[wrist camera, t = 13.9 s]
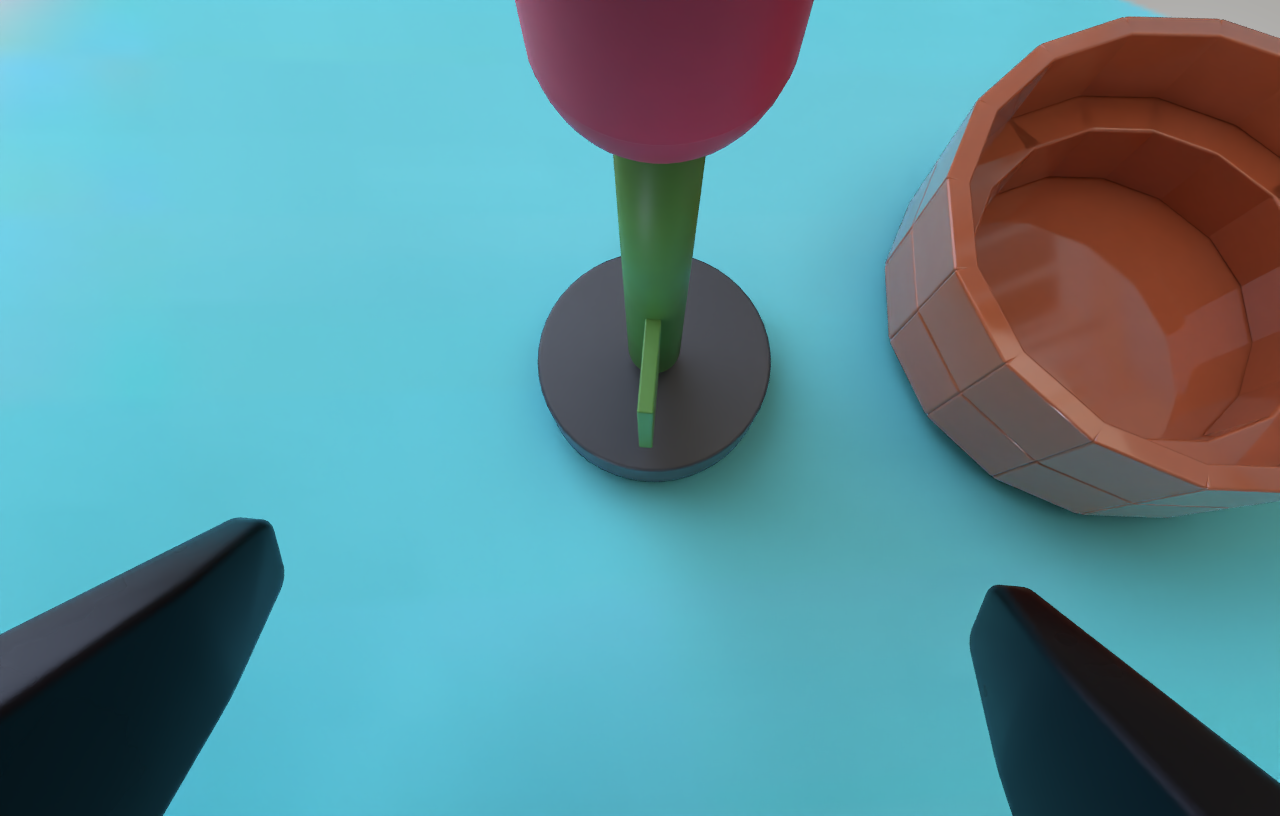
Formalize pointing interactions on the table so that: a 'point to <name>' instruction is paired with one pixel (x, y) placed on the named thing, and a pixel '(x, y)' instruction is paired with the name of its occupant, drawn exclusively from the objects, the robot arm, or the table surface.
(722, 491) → the table surface
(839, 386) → the table surface
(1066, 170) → the bowl
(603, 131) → the tulip
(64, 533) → the table surface
